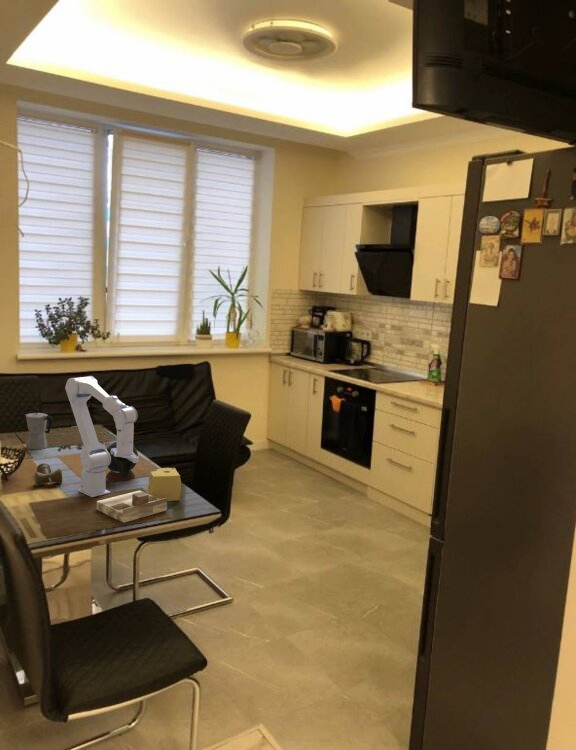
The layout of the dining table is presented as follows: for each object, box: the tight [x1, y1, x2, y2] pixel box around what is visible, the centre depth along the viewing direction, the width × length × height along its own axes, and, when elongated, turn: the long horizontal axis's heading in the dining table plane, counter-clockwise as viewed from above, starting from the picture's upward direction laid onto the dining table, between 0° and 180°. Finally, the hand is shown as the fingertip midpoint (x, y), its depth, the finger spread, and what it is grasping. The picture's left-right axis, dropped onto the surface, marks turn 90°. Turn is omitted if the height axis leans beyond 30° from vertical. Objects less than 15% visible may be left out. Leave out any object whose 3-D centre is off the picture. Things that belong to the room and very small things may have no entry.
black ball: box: [106, 441, 139, 482], centre depth 254 cm, size 13×13×15 cm
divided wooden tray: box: [96, 489, 168, 524], centre depth 220 cm, size 16×18×4 cm
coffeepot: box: [24, 408, 54, 451], centre depth 288 cm, size 15×9×18 cm, turn 70°
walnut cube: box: [132, 491, 149, 506], centre depth 216 cm, size 4×4×4 cm
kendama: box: [34, 462, 63, 488], centre depth 243 cm, size 6×10×20 cm
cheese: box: [147, 467, 182, 502], centre depth 234 cm, size 10×11×10 cm
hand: (123, 477), depth 225 cm, fingers closed
